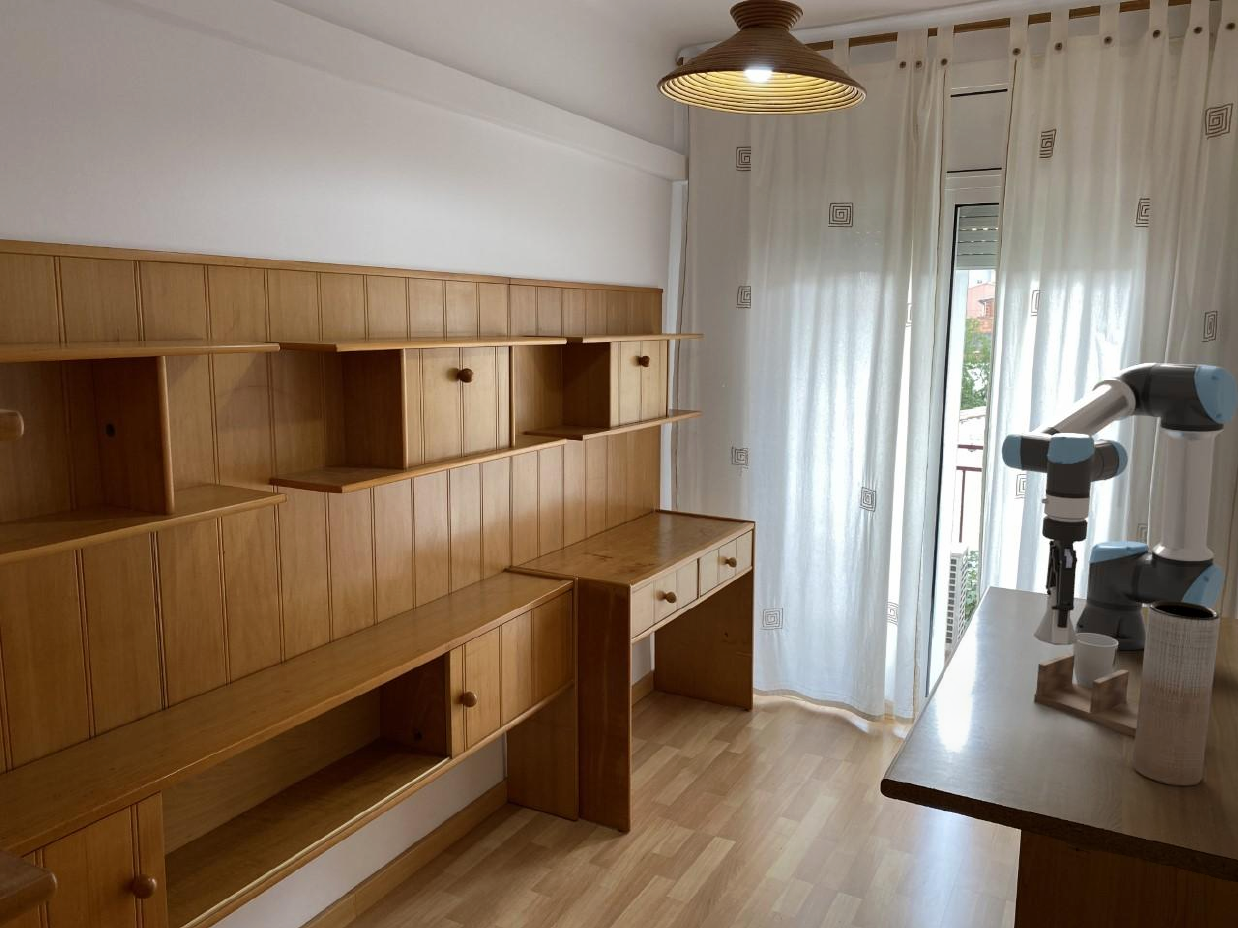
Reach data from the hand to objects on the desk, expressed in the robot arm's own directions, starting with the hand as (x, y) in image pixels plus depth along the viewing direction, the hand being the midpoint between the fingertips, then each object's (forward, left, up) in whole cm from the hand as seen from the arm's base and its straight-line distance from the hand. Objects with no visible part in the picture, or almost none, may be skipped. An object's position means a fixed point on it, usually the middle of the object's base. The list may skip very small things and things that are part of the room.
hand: (1056, 635), depth 185 cm
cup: (-17, -1, -14) cm, 22 cm away
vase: (+10, +26, -14) cm, 31 cm away
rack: (-6, +8, -14) cm, 17 cm away
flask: (0, 0, -1) cm, 1 cm away
